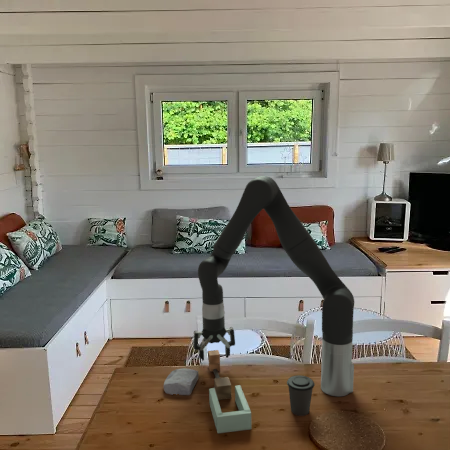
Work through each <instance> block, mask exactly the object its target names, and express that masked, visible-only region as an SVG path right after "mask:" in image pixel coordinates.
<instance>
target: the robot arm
mask: <svg viewBox="0 0 450 450" xmlns="http://www.w3.org/2000/svg"><path fill="white" fill-rule="evenodd" d="M238 202H239V203H238V205H237V206H236V209H235V210H234V213H233V215H232V216H231V218H230V220H229V221H228V223H227V224H226V226H225V227H224V229H223V230H222V232H221V233H220V235H219V237H217V240H216V241H215V242H214V245H213V248H212V250H213V251H212V252H211V254H210V255H209V257H207V258H205V259H203V260H201V262H200V263H199V264H198V269H197V277H198V281H199V285H200V288H201V291H202V292H201V293H202V295H201V296H202V297H201V298H202V306H201V308H202V309H201V311H202V312H201V313H202V314H201V315H202V330H201V331H197V330H194V331H193V348H194V351H195V350H197V351H198V353H199V359H200V360H201V361H205V351H204V349H205V348H206V347H207V346H208V344H215V343H217V344H219V343H220V342H221V343H222V344H223V345H224V350H225V358H226V359H227V358H229V356H231V347H232V346H233V347H234V346H236V339H235V337H236V336H235V330H234V328H233V327H232V326H230V327H229V328H226V326H225V324H226V323H225V321H226V320H225V314H226V312H225V306H224V304H225V303H224V289H223V286H222V285H221V284H220V283H219V281H218V277H219V276H221V275H222V274H223V273H224V272H225V271H226V269H227V267H228V265H229V264H230V261H231V259H232V257H233V256H234V253H235V252H236V251H237V249H238V248H239V246H240V245H241V243H242V242H243V240H244V238H245V235H246V234H247V231H248V229H249V228H250V226H251V224H252V223H253V221H254V219H256V217H257V216H258V215H259V214H260V212H261V211H263V210H264V212H265V213H266V214H267V215H268V217H269V218H270V220H271V221H272V223H273V225H274V229H275V232H276V235H277V237H278V239H279V242H280V244H281V247H282V248H283V251H285V253H286V254H287V256H288V257H289V259H290V260H291V262H292V263H293V264H294V266H296V267H297V268H298V269H299V270H300V271H301V272H302V273H304V274H305V275H306V276H307V277H308V278H309V279H310V280H311V281H312V282H313V283H314V285H315V286H316V288H317V289H318V291H319V293H320V295H321V296H322V299H323V301H322V305H321V307H322V308H321V332H322V333H321V334H322V335H321V337H322V338H321V339H322V340H321V373H320V375H321V376H320V390H321V391H322V392H323V393H324V394H327V395H329V396H333V397H345V396H348V395H349V394H351V393H353V392H354V376H355V375H354V374H355V373H354V371H355V364H354V363H353V362H352V361H353V360H352V359H353V337H354V336H353V335H354V333H353V331H354V329H353V328H354V327H353V326H354V308H355V298H354V295H353V293H352V291H351V290H350V288H348V287H347V286H346V284H345V283H344V282H343V280H341V278H339V276H338V275H337V274H336V272H335V271H334V269H332V267H331V265H330V264H329V262H328V261H327V258H326V257H325V255H324V254H323V252H322V250H321V249H320V248H319V245H318V244H317V243H316V241H315V240H314V238H313V237H312V235H311V234H310V233H309V232H308V230H307V229H306V228H305V226H304V225H303V223H302V222H301V220H300V218H299V217H298V216H297V215H296V214H295V212H294V211H293V209H292V208H291V206H290V205H289V203H288V202H287V200H286V198H285V196H284V194H283V193H282V191H281V189H280V187H279V185H278V183H277V182H276V180H275V179H273V178H272V177H270V176H269V175H268V176H267V175H261V176H257V177H254V178H253V179H251V180H249V181H248V182H247V183H246V186H245V188H244V190H243V193H242V195H241V198H240V200H239V201H238ZM226 334H228V335H229V337H230V338H229V339H230V341H228V340H227V339H226V337H225V336H226ZM201 336H202V337H203V338H202V340H201V342H200V343H199V339H200V338H201Z"/></svg>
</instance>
